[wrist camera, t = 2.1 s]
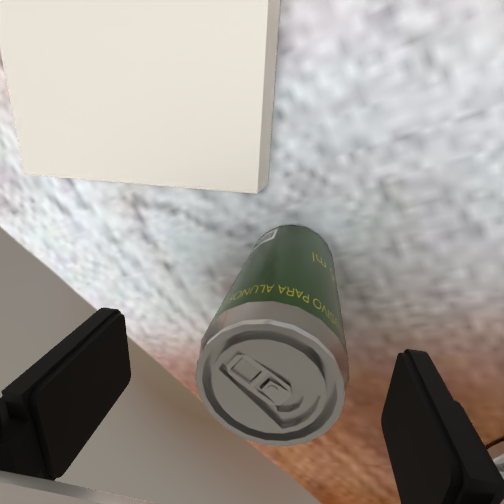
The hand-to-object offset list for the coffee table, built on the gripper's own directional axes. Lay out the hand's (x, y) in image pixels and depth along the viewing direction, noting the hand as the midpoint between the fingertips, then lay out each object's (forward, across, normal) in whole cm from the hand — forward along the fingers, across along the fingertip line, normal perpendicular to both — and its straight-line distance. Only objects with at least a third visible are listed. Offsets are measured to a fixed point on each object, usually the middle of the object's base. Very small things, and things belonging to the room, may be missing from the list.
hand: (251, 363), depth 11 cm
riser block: (+12, +8, -11) cm, 18 cm away
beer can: (+12, -1, +1) cm, 12 cm away
